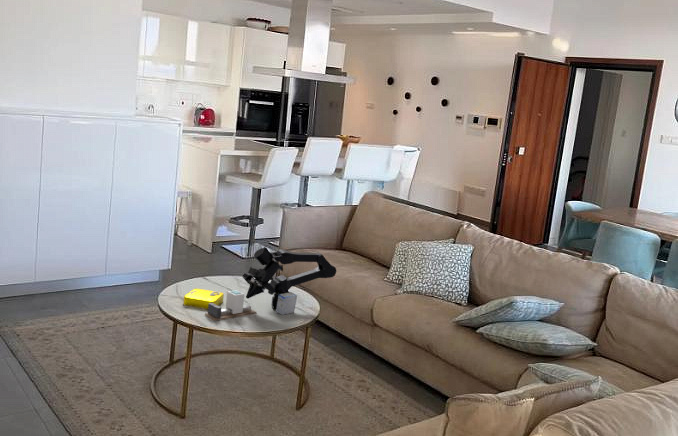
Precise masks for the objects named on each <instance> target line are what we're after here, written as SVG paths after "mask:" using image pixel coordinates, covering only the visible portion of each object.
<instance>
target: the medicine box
mask: <svg viewBox="0 0 678 436" xmlns="http://www.w3.org/2000/svg"><path fill="white" fill-rule="evenodd" d="M297 299H298V294H295V293H293V292H292V291H289V293H284V294H279V296H278V303H277V309H275V311H276V313H277V314H280V316H281V315H282V316H283V315H288V314H292V313H295V309H296V305H297Z"/></svg>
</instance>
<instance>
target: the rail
mask: <svg viewBox="0 0 678 436" xmlns="http://www.w3.org/2000/svg"><path fill="white" fill-rule="evenodd" d="M251 309H252V306H251V305H249V304H246V305H243V311H242V312H244V311H250V310H251ZM207 313H208V314H210V315H211V316H213V317H215V318H221V315H227V314H232V309H230V308H227V309H226V308H222V307H221V306H220V305H219V306H217V305H216V304H214V303H209V304H208V309H207Z"/></svg>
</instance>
